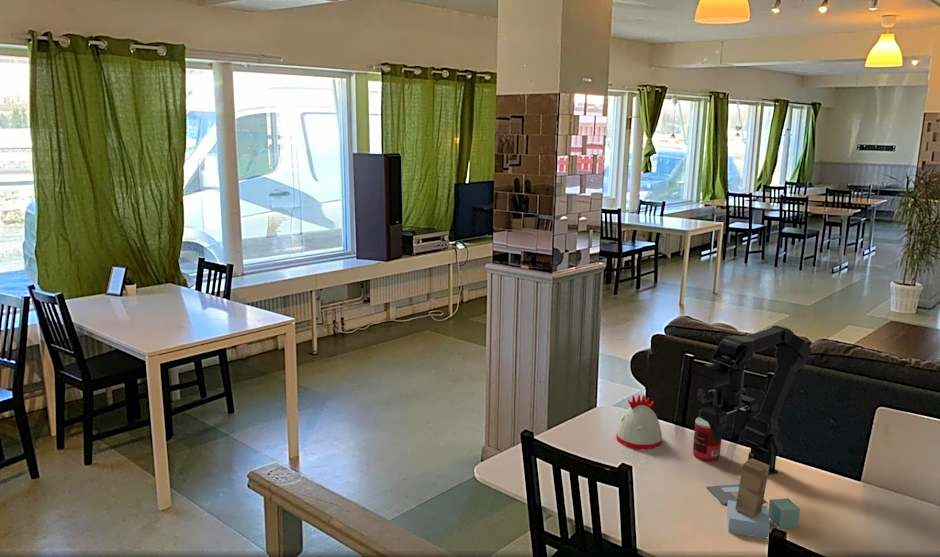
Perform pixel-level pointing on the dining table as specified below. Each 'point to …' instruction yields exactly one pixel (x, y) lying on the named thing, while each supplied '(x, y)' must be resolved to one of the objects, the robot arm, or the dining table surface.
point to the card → (725, 493)
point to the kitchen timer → (639, 426)
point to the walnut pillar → (752, 487)
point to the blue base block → (747, 522)
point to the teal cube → (784, 513)
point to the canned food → (705, 442)
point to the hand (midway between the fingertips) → (726, 438)
